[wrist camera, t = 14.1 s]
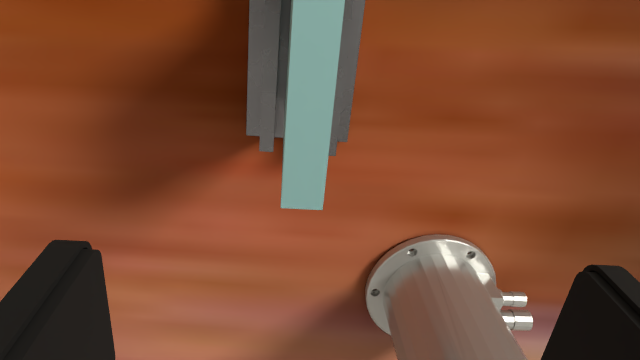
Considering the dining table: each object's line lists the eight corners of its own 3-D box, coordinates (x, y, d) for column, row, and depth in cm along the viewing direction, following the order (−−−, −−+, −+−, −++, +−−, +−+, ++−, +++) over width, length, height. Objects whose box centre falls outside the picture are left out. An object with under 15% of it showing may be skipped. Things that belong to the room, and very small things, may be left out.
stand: (369, -54, 31) (379, -54, 28) (345, 137, 38) (351, 156, 34) (252, -66, 31) (247, -69, 27) (247, 130, 37) (242, 149, 33)
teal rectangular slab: (322, -30, 31) (346, -16, 18) (310, 112, 35) (322, 210, 22) (292, -33, 31) (294, -21, 17) (284, 110, 35) (280, 207, 22)
